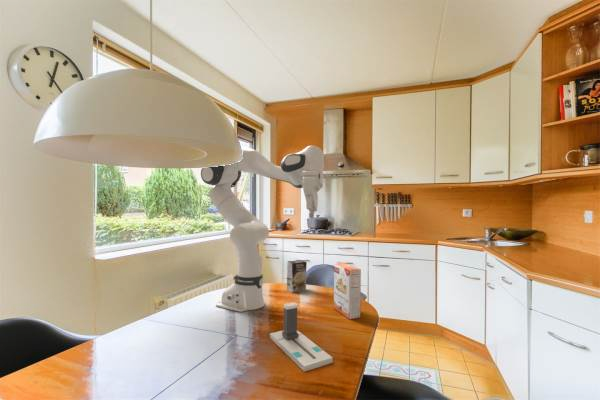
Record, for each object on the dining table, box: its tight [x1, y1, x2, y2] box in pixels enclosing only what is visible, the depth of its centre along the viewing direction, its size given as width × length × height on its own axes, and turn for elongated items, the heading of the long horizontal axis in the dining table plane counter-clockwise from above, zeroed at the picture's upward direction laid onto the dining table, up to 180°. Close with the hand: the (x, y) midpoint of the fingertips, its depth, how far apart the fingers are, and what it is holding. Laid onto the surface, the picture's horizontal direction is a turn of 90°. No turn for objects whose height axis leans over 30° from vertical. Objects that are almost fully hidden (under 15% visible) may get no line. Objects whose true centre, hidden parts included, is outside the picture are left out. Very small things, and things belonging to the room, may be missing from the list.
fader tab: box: [282, 301, 299, 340], centre depth 101 cm, size 4×4×11 cm
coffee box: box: [286, 259, 307, 293], centre depth 161 cm, size 9×6×16 cm
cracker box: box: [333, 262, 362, 320], centre depth 128 cm, size 14×6×21 cm, turn 21°
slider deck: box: [269, 329, 334, 372], centre depth 95 cm, size 24×10×2 cm, turn 30°
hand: (310, 213), depth 112 cm, fingers open, 8 cm apart
